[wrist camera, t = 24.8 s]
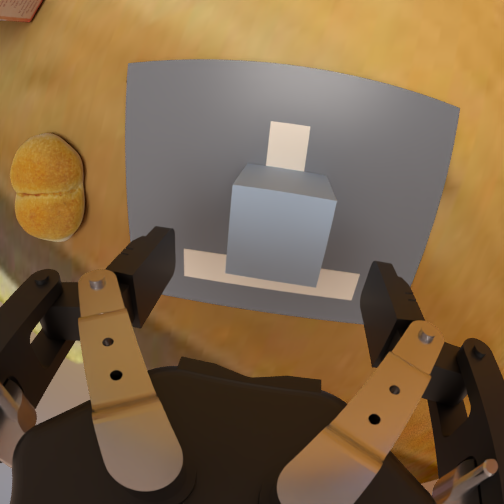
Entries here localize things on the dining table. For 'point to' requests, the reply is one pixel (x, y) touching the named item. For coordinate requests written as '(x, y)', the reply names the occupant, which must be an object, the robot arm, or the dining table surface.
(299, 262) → the gray cube
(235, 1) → the dining table surface
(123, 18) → the dining table surface
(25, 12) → the cracker box
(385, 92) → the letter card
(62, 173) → the bread roll
